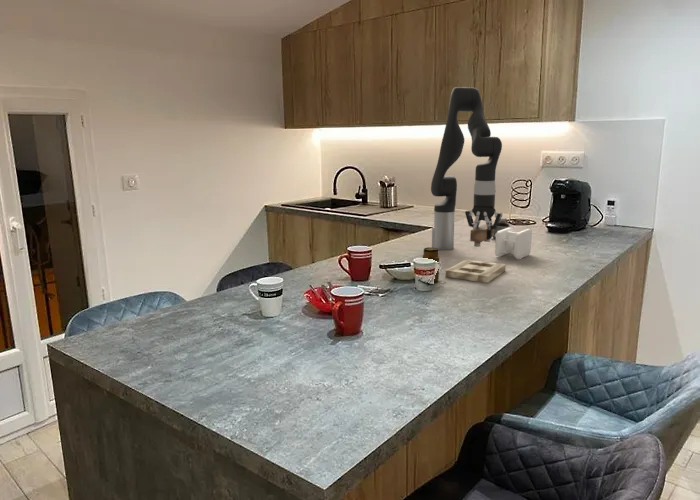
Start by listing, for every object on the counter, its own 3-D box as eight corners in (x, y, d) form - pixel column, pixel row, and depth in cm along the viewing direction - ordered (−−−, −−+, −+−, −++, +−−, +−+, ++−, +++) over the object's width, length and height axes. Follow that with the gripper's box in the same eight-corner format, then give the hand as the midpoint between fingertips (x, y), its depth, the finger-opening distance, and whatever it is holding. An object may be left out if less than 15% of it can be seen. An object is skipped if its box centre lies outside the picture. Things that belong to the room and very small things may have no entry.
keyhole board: (445, 276, 195) (445, 270, 195) (465, 265, 211) (466, 259, 211) (487, 283, 186) (487, 276, 186) (505, 270, 203) (505, 264, 202)
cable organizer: (517, 261, 217) (518, 234, 214) (493, 258, 223) (494, 231, 221) (531, 254, 228) (532, 228, 225) (507, 251, 234) (509, 226, 232)
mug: (488, 240, 259) (489, 220, 257) (491, 235, 270) (492, 216, 268) (508, 241, 256) (509, 221, 253) (511, 236, 267) (512, 217, 265)
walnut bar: (470, 246, 191) (470, 230, 189) (483, 239, 202) (484, 224, 201) (480, 247, 188) (481, 231, 187) (493, 240, 200) (494, 225, 198)
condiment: (432, 277, 195) (433, 245, 192) (446, 282, 188) (447, 250, 185) (416, 279, 192) (416, 247, 189) (429, 285, 185) (430, 252, 182)
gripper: (462, 192, 192) (460, 238, 196) (500, 195, 184) (497, 242, 188) (469, 190, 198) (468, 235, 202) (507, 192, 190) (504, 239, 194)
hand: (482, 238), depth 195 cm, fingers closed on walnut bar, 4 cm apart
